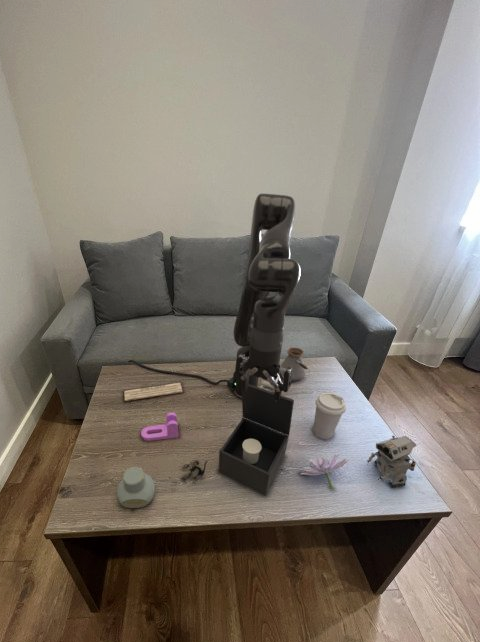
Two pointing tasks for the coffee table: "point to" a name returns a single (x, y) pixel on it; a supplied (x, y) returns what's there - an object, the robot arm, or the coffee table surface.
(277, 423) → the lid
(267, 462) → the open lidded box
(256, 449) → the coffee pod
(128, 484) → the air freshener
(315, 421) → the coffee cup
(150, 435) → the bracket
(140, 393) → the wooden plank
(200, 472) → the creature
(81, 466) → the coffee table surface
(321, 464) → the water lily
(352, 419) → the coffee table surface
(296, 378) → the coffee pot
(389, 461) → the figurine
